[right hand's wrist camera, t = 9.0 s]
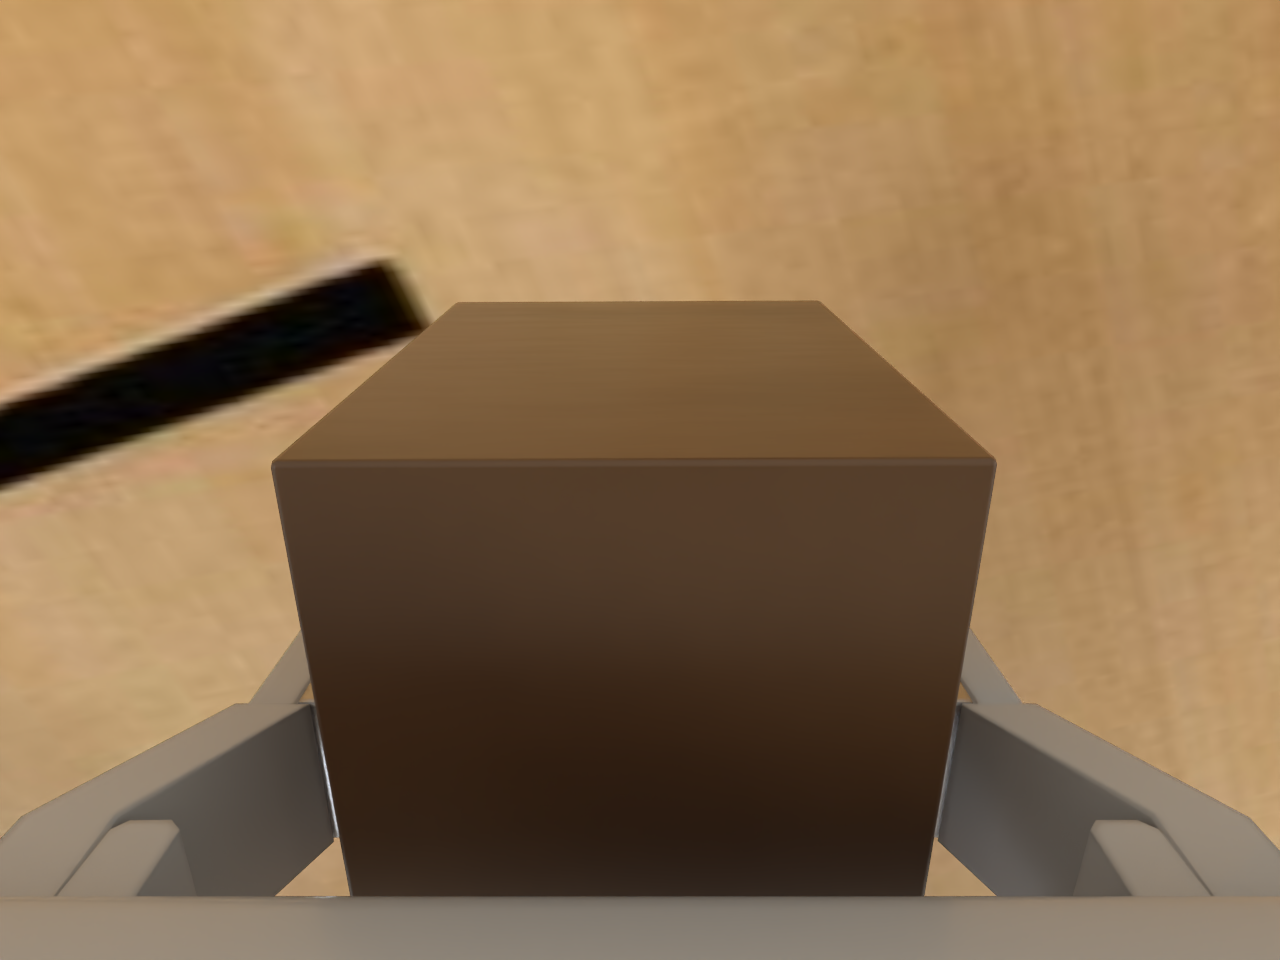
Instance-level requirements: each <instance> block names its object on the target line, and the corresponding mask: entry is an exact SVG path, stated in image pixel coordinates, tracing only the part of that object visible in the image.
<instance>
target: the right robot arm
mask: <svg viewBox="0 0 1280 960" xmlns="http://www.w3.org/2000/svg"><path fill="white" fill-rule="evenodd" d="M333 837H339V832H338V826H337V821H336V815H335V810H334V805H333V799H332V794H331V789H330V783H329V778H328V772H327V767H326V762H325V756H324V751H323V745H322V740H321V735H320V729H319V724H318V718H317V713H316V708H315V702H314V697H313V691H312V686H311V681H310V675H309V670H308V664H307V659H306V654H305V648H304V643H303V637H302V632H301V630H300V632H299V633H298V634H297V636H296V637H295V639H294V640H293V641H292V643H291V644H290V646H289V647H288V649H287V650H286V651H285V653H284V654H283V656H282V657H281V658H280V660H279V661H278V663H277V664H276V665H275V667H274V668H273V670H272V671H271V672H270V674H269V675H268V677H267V678H266V679H265V681H264V682H263V684H262V685H261V687H260V688H259V689H258V691H257V692H256V694H255V695H254V696H253V698H252V699H251V701H250V702H249V703H248V704H234V705H232V706H230V707H228V708H226V709H224V710H223V711H221V712H219V713H217V714H215V715H213V716H211V717H209V718H207V719H205V720H204V721H202V722H200V723H198V724H196V725H194V726H192V727H190V728H188V729H186V730H185V731H183V732H181V733H179V734H177V735H175V736H173V737H171V738H169V739H167V740H166V741H164V742H162V743H160V744H158V745H156V746H154V747H152V748H150V749H148V750H147V751H145V752H143V753H141V754H139V755H137V756H135V757H133V758H131V759H129V760H128V761H126V762H124V763H122V764H120V765H118V766H116V767H114V768H112V769H110V770H109V771H107V772H105V773H103V774H101V775H99V776H97V777H95V778H93V779H91V780H90V781H88V782H86V783H84V784H82V785H80V786H78V787H76V788H74V789H73V790H71V791H69V792H67V793H65V794H63V795H61V796H59V797H57V798H55V799H54V800H52V801H50V802H48V803H46V804H44V805H42V806H40V807H38V808H36V809H35V810H33V811H31V812H29V813H27V814H25V815H23V816H21V817H20V818H19V819H18V821H17V822H16V823H15V824H14V825H13V826H12V827H11V828H10V829H9V830H8V831H7V832H6V833H5V835H4V836H3V837H2V838H1V839H0V960H1280V851H1279V849H1278V848H1277V847H1276V846H1275V845H1274V844H1273V843H1272V842H1271V841H1270V840H1269V838H1268V837H1267V836H1266V835H1265V834H1264V833H1263V832H1262V831H1261V830H1260V829H1259V827H1258V826H1257V825H1256V824H1255V823H1254V822H1253V821H1252V820H1251V819H1250V818H1249V817H1247V816H1245V815H1244V814H1242V813H1240V812H1238V811H1236V810H1234V809H1232V808H1230V807H1229V806H1227V805H1225V804H1223V803H1221V802H1219V801H1217V800H1215V799H1214V798H1212V797H1210V796H1208V795H1206V794H1204V793H1202V792H1200V791H1199V790H1197V789H1195V788H1193V787H1191V786H1189V785H1187V784H1185V783H1184V782H1182V781H1180V780H1178V779H1176V778H1174V777H1172V776H1170V775H1169V774H1167V773H1165V772H1163V771H1161V770H1159V769H1157V768H1155V767H1154V766H1152V765H1150V764H1148V763H1146V762H1144V761H1142V760H1140V759H1139V758H1137V757H1135V756H1133V755H1131V754H1129V753H1127V752H1125V751H1124V750H1122V749H1120V748H1118V747H1116V746H1114V745H1112V744H1110V743H1109V742H1107V741H1105V740H1103V739H1101V738H1099V737H1097V736H1096V735H1094V734H1092V733H1090V732H1088V731H1086V730H1084V729H1082V728H1081V727H1079V726H1077V725H1075V724H1073V723H1071V722H1069V721H1067V720H1066V719H1064V718H1062V717H1060V716H1058V715H1056V714H1054V713H1052V712H1051V711H1049V710H1047V709H1045V708H1043V707H1041V706H1039V705H1037V704H1023V703H1022V701H1021V700H1020V699H1019V697H1018V696H1017V694H1016V693H1015V691H1014V690H1013V689H1012V687H1011V686H1010V684H1009V683H1008V682H1007V680H1006V679H1005V677H1004V676H1003V674H1002V673H1001V672H1000V670H999V669H998V667H997V666H996V664H995V663H994V662H993V660H992V659H991V657H990V656H989V654H988V653H987V652H986V650H985V649H984V647H983V646H982V645H981V643H980V642H979V640H978V639H977V637H976V636H975V635H974V633H973V632H972V630H971V629H970V628H969V633H968V639H967V645H966V650H965V656H964V662H963V668H962V674H961V680H960V686H959V692H958V698H957V704H956V710H955V716H954V722H953V728H952V734H951V740H950V745H949V751H948V757H947V763H946V769H945V775H944V781H943V787H942V793H941V799H940V805H939V811H938V817H937V823H936V829H935V835H934V837H938V841H939V842H940V843H941V844H942V845H943V846H944V847H945V848H946V849H947V850H948V851H949V852H950V853H951V854H953V855H954V856H955V857H956V858H957V859H958V860H959V861H960V862H961V863H962V864H963V865H964V866H965V867H966V868H968V869H969V870H970V871H971V872H972V873H973V874H974V875H975V876H976V877H977V878H978V879H979V880H980V881H981V882H983V883H984V884H985V885H986V886H987V887H988V888H989V889H990V890H991V891H992V892H993V893H994V894H995V895H996V896H275V895H276V894H277V893H278V892H280V891H281V890H282V889H283V888H284V887H285V886H286V885H287V884H288V883H289V882H290V881H292V880H293V879H294V878H295V877H296V876H297V875H298V874H299V873H300V872H301V871H302V870H303V869H305V868H306V867H307V866H308V865H309V864H310V863H311V862H312V861H313V860H314V859H315V858H316V857H318V856H319V855H320V854H321V853H322V852H323V851H324V850H325V849H326V848H327V847H328V846H329V845H331V844H332V843H333V842H334V839H333Z"/></svg>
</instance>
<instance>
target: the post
mask: <svg viewBox="0 0 1280 960" xmlns="http://www.w3.org/2000/svg"><path fill="white" fill-rule="evenodd" d="M996 466H997V463H996V459H995V458H994V457H993V456H992V455H991V454H990V453H988V452H987V451H986V450H985V449H984V448H983V447H982V446H981V445H980V444H978V443H977V442H976V441H975V440H974V439H973V438H972V437H971V436H969V435H968V434H967V433H966V432H965V431H964V430H963V429H962V428H961V427H959V426H958V425H957V424H956V423H955V422H954V421H953V420H952V419H950V418H949V417H948V416H947V415H946V414H945V413H944V412H943V411H942V410H940V409H939V408H938V407H937V406H936V405H935V404H934V403H933V402H932V401H930V400H929V399H928V398H927V397H926V396H925V395H924V394H923V393H921V392H920V391H919V390H918V389H917V388H916V387H915V386H914V385H913V384H911V383H910V382H909V381H908V380H907V379H906V378H905V377H904V376H903V375H901V374H900V373H899V372H898V371H897V370H896V369H895V368H894V367H892V366H891V365H890V364H889V363H888V362H887V361H886V360H885V359H884V358H882V357H881V356H880V355H879V354H878V353H877V352H876V351H875V350H873V349H872V348H871V347H870V346H869V345H868V344H867V343H866V342H865V341H863V340H862V339H861V338H860V337H859V336H858V335H857V334H856V333H855V332H853V331H852V330H851V329H850V328H849V327H848V326H847V325H846V324H844V323H843V322H842V321H841V320H840V319H839V318H838V317H837V316H836V315H834V314H833V313H832V312H831V311H830V310H829V309H828V308H827V307H826V306H824V305H823V304H822V303H821V302H819V301H647V302H458V303H456V304H455V305H453V306H452V307H451V308H450V309H449V310H448V311H446V312H445V313H444V314H443V315H442V316H441V317H439V318H438V319H437V320H436V321H435V322H434V323H433V324H431V325H430V326H429V327H428V328H427V329H426V330H424V331H423V332H422V333H421V334H420V335H419V336H417V337H416V338H415V339H414V340H413V341H412V342H410V343H409V344H408V345H407V346H406V347H405V348H403V349H402V350H401V351H400V352H399V353H398V354H397V355H395V356H394V357H393V358H392V359H391V360H390V361H388V362H387V363H386V364H385V365H384V366H383V367H381V368H380V369H379V370H378V371H377V372H376V373H374V374H373V375H372V376H371V377H370V378H369V379H367V380H366V381H365V382H364V383H363V384H362V385H361V386H359V387H358V388H357V389H356V390H355V391H354V392H352V393H351V394H350V395H349V396H348V397H347V398H345V399H344V400H343V401H342V402H341V403H340V404H338V405H337V406H336V407H335V408H334V409H333V410H331V411H330V412H329V413H328V414H327V415H326V416H324V417H323V418H322V419H321V420H320V421H319V422H318V423H316V424H315V425H314V426H313V427H312V428H311V429H309V430H308V431H307V432H306V433H305V434H304V435H302V436H301V437H300V438H299V439H298V440H297V441H295V442H294V443H293V444H292V445H291V446H290V447H288V448H287V449H286V450H285V451H284V452H283V453H282V454H280V455H279V456H278V457H277V458H276V459H275V460H273V461H272V465H271V470H272V476H273V481H274V486H275V492H276V497H277V503H278V508H279V513H280V519H281V524H282V530H283V535H284V540H285V546H286V551H287V557H288V562H289V567H290V573H291V578H292V584H293V589H294V594H295V600H296V605H297V610H298V616H299V621H300V627H301V632H302V637H303V643H304V648H305V654H306V659H307V664H308V670H309V675H310V681H311V686H312V691H313V697H314V702H315V708H316V713H317V718H318V724H319V729H320V735H321V740H322V745H323V751H324V756H325V762H326V767H327V772H328V778H329V783H330V789H331V794H332V799H333V805H334V810H335V815H336V821H337V826H338V832H339V837H340V842H341V848H342V853H343V859H344V864H345V869H346V875H347V880H348V886H349V891H350V896H924V894H925V888H926V882H927V876H928V870H929V864H930V858H931V852H932V846H933V840H934V835H935V829H936V823H937V817H938V811H939V805H940V799H941V793H942V787H943V781H944V775H945V769H946V763H947V757H948V751H949V745H950V740H951V734H952V728H953V722H954V716H955V710H956V704H957V698H958V692H959V686H960V680H961V674H962V668H963V662H964V656H965V650H966V645H967V639H968V633H969V627H970V621H971V615H972V609H973V603H974V597H975V591H976V585H977V579H978V573H979V567H980V561H981V555H982V549H983V544H984V538H985V532H986V526H987V520H988V514H989V508H990V502H991V496H992V490H993V484H994V478H995V472H996Z"/></svg>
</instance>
